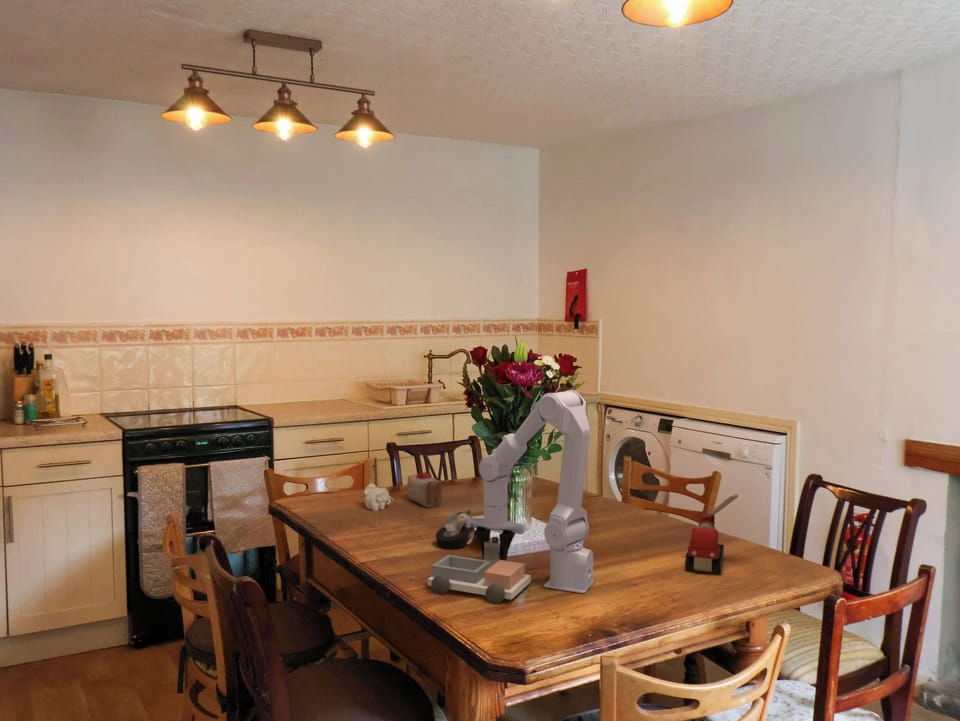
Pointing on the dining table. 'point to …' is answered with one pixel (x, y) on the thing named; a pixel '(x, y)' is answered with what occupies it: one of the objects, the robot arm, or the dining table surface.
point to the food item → (425, 490)
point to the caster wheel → (455, 531)
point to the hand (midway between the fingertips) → (494, 559)
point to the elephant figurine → (376, 497)
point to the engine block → (492, 550)
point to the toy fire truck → (706, 543)
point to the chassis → (479, 577)
